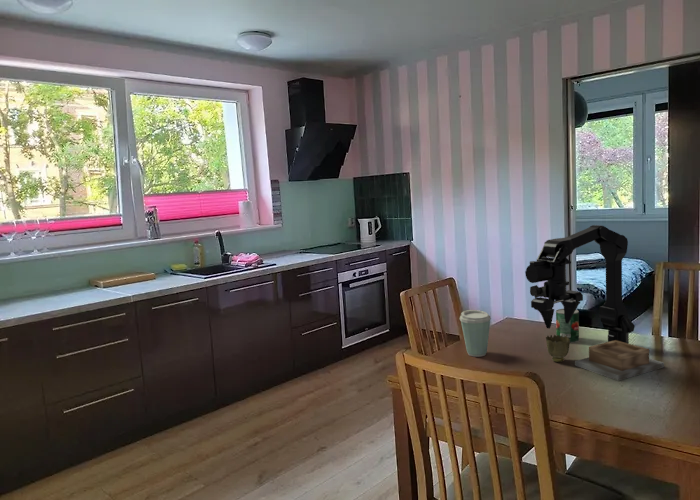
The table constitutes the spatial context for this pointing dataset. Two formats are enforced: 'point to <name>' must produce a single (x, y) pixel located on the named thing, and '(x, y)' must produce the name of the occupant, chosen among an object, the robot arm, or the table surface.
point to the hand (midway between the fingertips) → (557, 325)
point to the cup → (558, 347)
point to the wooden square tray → (618, 360)
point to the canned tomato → (567, 325)
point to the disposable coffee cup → (475, 331)
